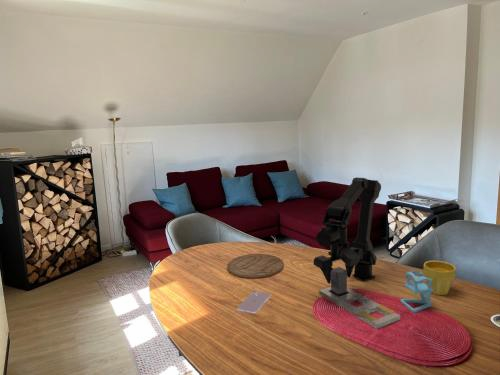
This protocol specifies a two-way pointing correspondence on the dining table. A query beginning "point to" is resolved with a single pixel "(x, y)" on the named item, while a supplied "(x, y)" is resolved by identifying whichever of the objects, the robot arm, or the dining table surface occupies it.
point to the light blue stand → (418, 290)
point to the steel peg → (338, 281)
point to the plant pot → (439, 276)
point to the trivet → (255, 266)
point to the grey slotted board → (362, 307)
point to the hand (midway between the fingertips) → (338, 280)
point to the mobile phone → (254, 302)
